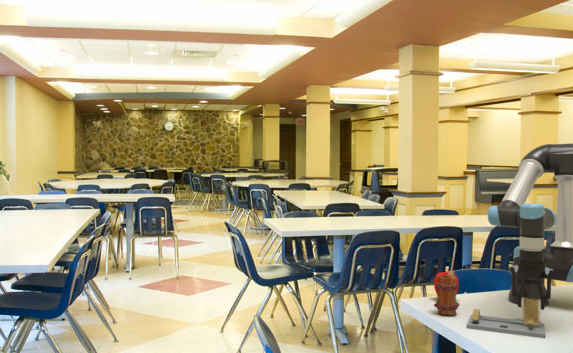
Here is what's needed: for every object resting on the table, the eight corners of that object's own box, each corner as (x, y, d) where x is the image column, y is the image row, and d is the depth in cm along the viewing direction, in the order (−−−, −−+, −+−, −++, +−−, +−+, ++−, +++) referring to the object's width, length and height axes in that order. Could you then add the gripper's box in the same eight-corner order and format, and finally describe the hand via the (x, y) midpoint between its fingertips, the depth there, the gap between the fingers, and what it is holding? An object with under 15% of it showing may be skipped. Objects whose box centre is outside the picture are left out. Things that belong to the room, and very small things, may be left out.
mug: (454, 318, 190) (454, 277, 190) (432, 315, 195) (432, 274, 194) (464, 309, 203) (464, 270, 203) (442, 306, 207) (443, 268, 207)
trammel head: (537, 323, 180) (538, 298, 180) (538, 330, 172) (538, 304, 172) (523, 321, 182) (524, 297, 182) (523, 328, 174) (523, 302, 174)
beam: (541, 325, 178) (541, 316, 178) (541, 331, 171) (541, 322, 171) (472, 317, 187) (472, 308, 187) (470, 323, 181) (470, 313, 181)
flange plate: (544, 327, 181) (544, 323, 181) (545, 338, 169) (545, 334, 169) (470, 318, 191) (470, 314, 191) (466, 328, 179) (466, 324, 179)
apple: (445, 296, 223) (445, 267, 223) (464, 301, 215) (464, 271, 215) (428, 299, 218) (429, 270, 218) (447, 304, 210) (447, 274, 210)
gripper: (560, 249, 178) (559, 318, 179) (504, 246, 186) (503, 312, 186) (561, 252, 171) (560, 324, 172) (503, 249, 179) (502, 317, 179)
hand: (530, 317), depth 179 cm, fingers closed on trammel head, 4 cm apart
